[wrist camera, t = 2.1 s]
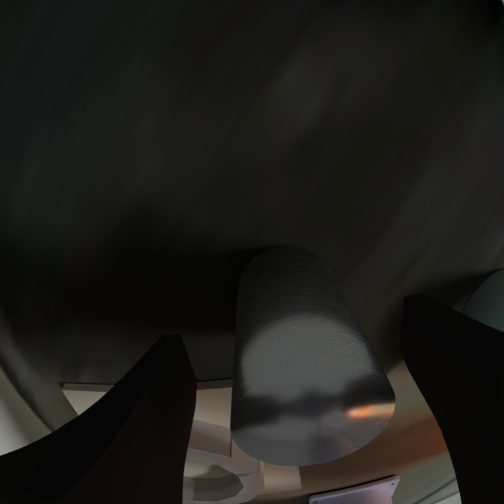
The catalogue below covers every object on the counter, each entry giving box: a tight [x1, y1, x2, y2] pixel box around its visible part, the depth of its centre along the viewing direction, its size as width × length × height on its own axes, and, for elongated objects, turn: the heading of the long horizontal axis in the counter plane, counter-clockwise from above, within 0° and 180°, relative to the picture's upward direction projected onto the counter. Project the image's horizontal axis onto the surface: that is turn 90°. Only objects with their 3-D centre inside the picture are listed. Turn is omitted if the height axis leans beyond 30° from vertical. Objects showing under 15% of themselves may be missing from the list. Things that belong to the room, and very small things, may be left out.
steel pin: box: [230, 245, 395, 466], centre depth 10 cm, size 4×4×7 cm
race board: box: [62, 379, 302, 504], centre depth 16 cm, size 13×13×3 cm
